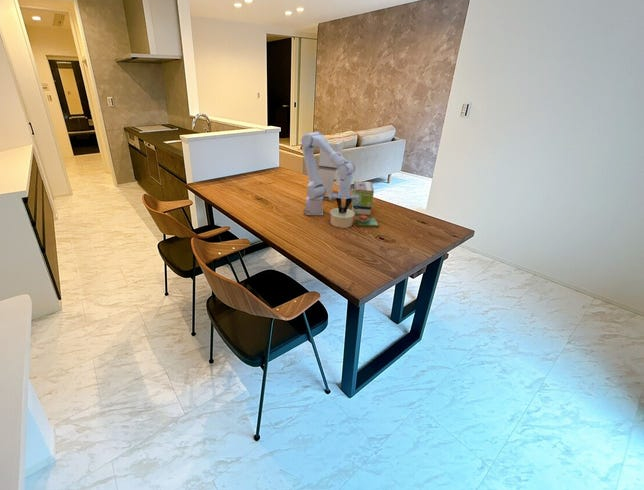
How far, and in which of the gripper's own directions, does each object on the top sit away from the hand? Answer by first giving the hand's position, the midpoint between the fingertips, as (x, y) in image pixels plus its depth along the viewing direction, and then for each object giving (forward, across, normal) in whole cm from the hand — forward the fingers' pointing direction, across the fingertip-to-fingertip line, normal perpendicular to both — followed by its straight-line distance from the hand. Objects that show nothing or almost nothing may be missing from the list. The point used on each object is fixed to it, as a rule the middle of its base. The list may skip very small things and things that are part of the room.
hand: (342, 211), depth 153 cm
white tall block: (+7, -4, +37) cm, 38 cm away
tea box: (+7, +13, +18) cm, 23 cm away
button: (+4, +11, 0) cm, 12 cm away
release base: (+6, +13, 0) cm, 14 cm away
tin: (+6, 0, 0) cm, 6 cm away
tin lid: (+1, 0, 0) cm, 1 cm away
